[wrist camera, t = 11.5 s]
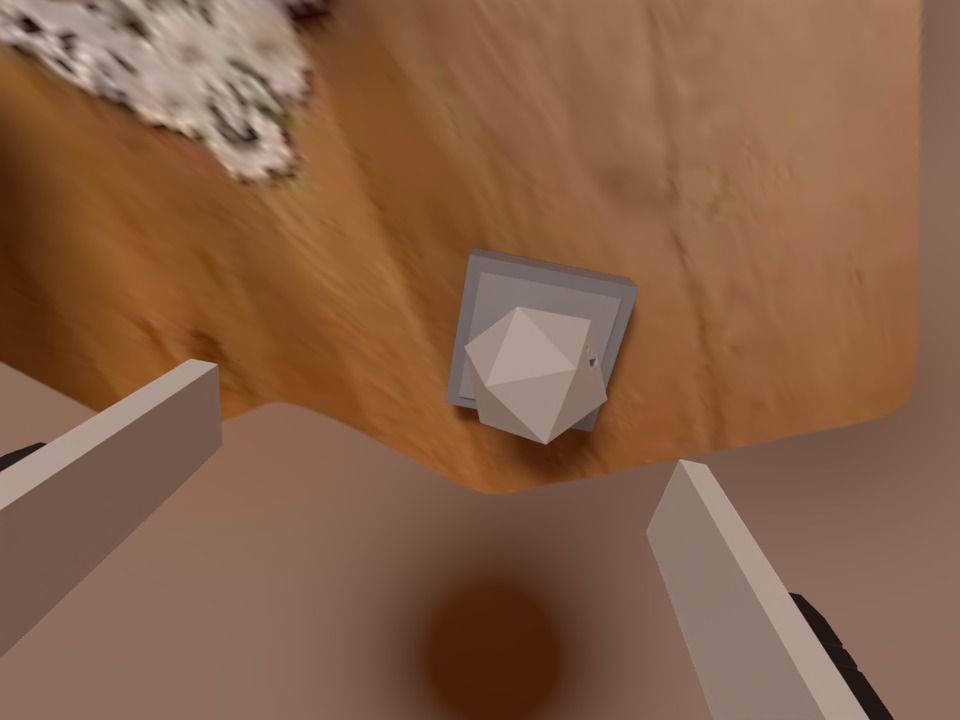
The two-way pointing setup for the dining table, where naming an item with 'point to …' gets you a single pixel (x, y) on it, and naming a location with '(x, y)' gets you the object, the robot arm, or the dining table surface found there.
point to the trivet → (542, 287)
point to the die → (535, 373)
